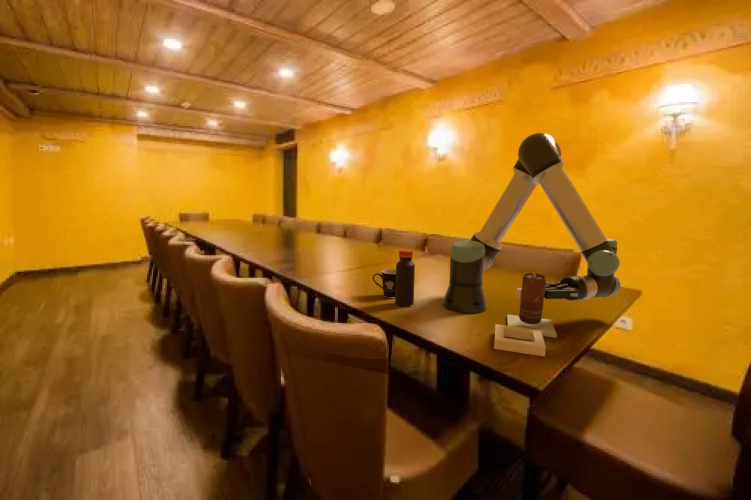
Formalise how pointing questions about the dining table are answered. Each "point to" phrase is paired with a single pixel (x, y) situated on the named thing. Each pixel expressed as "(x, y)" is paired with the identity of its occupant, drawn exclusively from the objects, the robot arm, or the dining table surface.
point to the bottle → (405, 279)
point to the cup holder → (519, 345)
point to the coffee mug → (388, 282)
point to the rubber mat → (533, 325)
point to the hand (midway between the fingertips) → (518, 293)
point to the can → (532, 298)
